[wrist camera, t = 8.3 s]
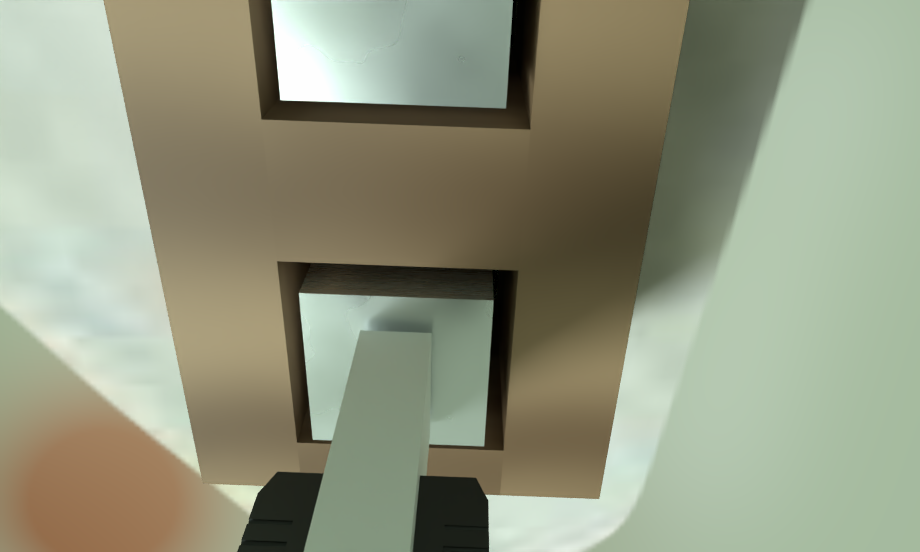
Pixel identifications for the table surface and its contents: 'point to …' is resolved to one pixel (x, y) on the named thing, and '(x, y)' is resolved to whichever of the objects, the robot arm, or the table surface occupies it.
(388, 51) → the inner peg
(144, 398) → the table surface
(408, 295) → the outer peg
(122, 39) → the wooden peg hole block
